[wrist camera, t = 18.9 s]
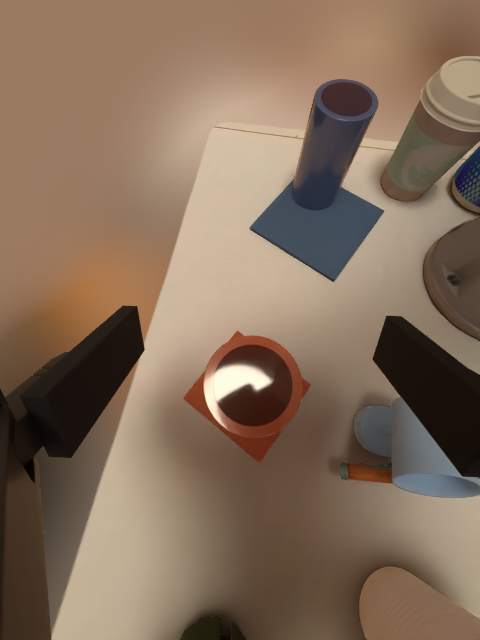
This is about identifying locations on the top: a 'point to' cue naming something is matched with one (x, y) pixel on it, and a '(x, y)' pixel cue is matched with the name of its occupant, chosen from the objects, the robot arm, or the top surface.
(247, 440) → the terracotta mat
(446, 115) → the coffee cup
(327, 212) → the blue mat
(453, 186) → the beer can
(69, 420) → the robot arm
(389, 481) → the knife
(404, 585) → the cup
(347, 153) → the blue tumbler
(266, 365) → the terracotta tumbler
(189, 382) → the top surface
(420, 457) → the spotlight
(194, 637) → the character mug
